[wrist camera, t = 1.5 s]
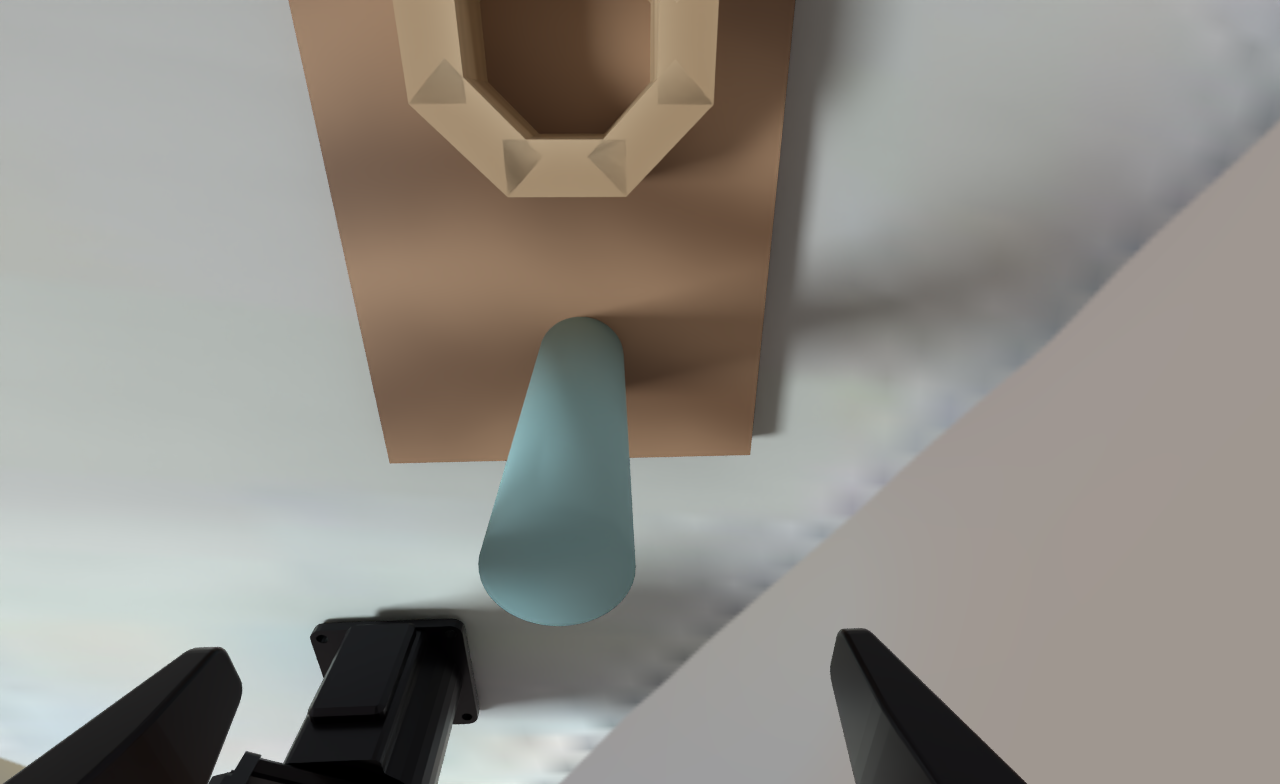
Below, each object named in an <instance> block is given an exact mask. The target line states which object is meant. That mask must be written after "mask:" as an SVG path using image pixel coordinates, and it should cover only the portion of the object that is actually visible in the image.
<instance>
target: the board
mask: <svg viewBox="0 0 1280 784" xmlns="http://www.w3.org/2000/svg"><path fill="white" fill-rule="evenodd" d="M289 5H290V9H291V14H292V19H293V23H294V28H295V32H296V37H297V41H298V46H299V51H300V55H301V60H302V64H303V69H304V73H305V78H306V83H307V87H308V92H309V96H310V101H311V105H312V110H313V115H314V119H315V124H316V128H317V133H318V137H319V142H320V147H321V151H322V156H323V160H324V165H325V169H326V174H327V178H328V183H329V188H330V192H331V197H332V201H333V206H334V210H335V215H336V220H337V224H338V229H339V233H340V238H341V242H342V247H343V252H344V256H345V261H346V265H347V270H348V274H349V279H350V284H351V288H352V293H353V297H354V302H355V306H356V311H357V316H358V320H359V325H360V329H361V334H362V338H363V343H364V348H365V352H366V357H367V361H368V366H369V370H370V375H371V380H372V384H373V389H374V393H375V398H376V402H377V407H378V412H379V416H380V421H381V425H382V430H383V434H384V439H385V444H386V448H387V453H388V457H389V462H390V463H427V462H469V461H507V459H508V455H509V452H510V449H511V445H512V442H513V438H514V435H515V431H516V428H517V424H518V421H519V418H520V414H521V411H522V407H523V404H524V400H525V397H526V394H527V390H528V387H529V383H530V380H531V376H532V373H533V369H534V366H535V363H536V359H537V356H538V352H539V349H540V345H541V342H542V340H543V338H544V336H545V334H546V333H547V332H548V331H549V329H550V328H552V327H553V326H554V325H555V324H557V323H558V322H560V321H562V320H565V319H568V318H572V317H589V318H593V319H596V320H599V321H601V322H603V323H604V324H606V325H607V326H609V327H610V328H611V329H612V330H613V331H614V332H615V333H616V335H617V336H618V338H619V340H620V342H621V344H622V348H623V354H624V370H625V388H626V406H627V424H628V442H629V458H639V457H682V456H724V455H750V450H751V440H752V430H753V420H754V410H755V400H756V390H757V380H758V370H759V360H760V350H761V340H762V330H763V320H764V310H765V300H766V290H767V280H768V270H769V260H770V250H771V240H772V230H773V220H774V210H775V199H776V189H777V179H778V169H779V159H780V149H781V139H782V129H783V119H784V109H785V99H786V89H787V79H788V69H789V59H790V49H791V39H792V29H793V19H794V9H795V0H719V9H718V28H717V48H716V67H715V86H714V105H713V106H712V107H711V108H710V109H709V110H708V111H707V112H706V113H705V114H704V115H703V116H702V117H701V118H700V119H699V120H698V122H697V123H696V124H695V125H694V126H693V127H692V128H691V129H690V130H689V131H688V132H687V133H686V134H685V135H684V136H683V137H682V138H681V139H680V141H679V142H678V143H677V144H676V145H675V146H674V147H673V148H672V149H671V150H670V151H669V152H668V153H667V154H666V155H665V156H664V157H663V159H662V160H661V161H660V162H659V163H658V164H657V165H656V166H655V167H654V168H653V169H652V170H651V171H650V172H649V173H648V174H647V175H646V176H645V178H644V179H643V180H642V181H641V182H640V183H639V184H638V185H637V186H636V187H635V188H634V189H633V190H632V191H631V192H630V193H629V194H628V195H627V197H507V196H506V195H505V194H504V193H503V192H502V191H501V190H500V189H499V188H497V187H496V186H495V185H494V184H493V183H492V182H491V181H490V180H489V179H488V178H487V177H486V176H485V175H484V174H483V173H481V172H480V171H479V170H478V169H477V168H476V167H475V166H474V165H473V164H472V163H471V162H470V161H469V160H468V159H467V158H466V157H464V156H463V155H462V154H461V153H460V152H459V151H458V150H457V149H456V148H455V147H454V146H453V145H452V144H451V143H450V142H449V141H447V140H446V139H445V138H444V137H443V136H442V135H441V134H440V133H439V132H438V131H437V130H436V129H435V128H434V127H433V126H432V125H430V124H429V123H428V122H427V121H426V120H425V119H424V118H423V117H422V116H421V115H420V114H419V113H418V112H417V111H416V110H415V109H413V108H412V107H411V106H410V105H409V104H408V98H407V91H406V85H405V78H404V72H403V65H402V59H401V52H400V46H399V39H398V33H397V26H396V20H395V13H394V7H393V0H289ZM480 8H481V18H482V29H483V39H484V49H485V59H486V69H487V79H488V83H489V84H490V85H491V86H492V87H493V88H494V89H495V90H496V91H497V92H498V93H499V94H500V95H501V96H502V97H503V98H504V99H505V100H506V101H507V102H508V103H509V104H510V105H511V106H512V107H513V108H514V109H515V110H516V111H517V112H518V113H519V114H520V115H521V116H522V117H523V118H524V119H525V120H526V121H527V122H528V123H529V124H530V125H531V126H532V127H533V128H534V129H535V130H536V131H537V132H538V133H539V134H604V133H605V132H606V131H607V130H608V129H609V128H610V127H611V126H612V124H613V123H614V122H615V121H616V120H617V119H618V118H619V117H620V115H621V114H622V113H623V112H624V111H625V110H626V109H627V108H628V107H629V105H630V104H631V103H632V102H633V101H634V100H635V99H636V98H637V96H638V95H639V94H640V93H641V92H642V91H643V90H644V89H645V88H646V86H647V85H648V84H649V83H650V30H651V3H650V2H649V1H648V0H481V1H480Z"/></svg>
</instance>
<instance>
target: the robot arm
mask: <svg viewBox="0 0 1280 784" xmlns="http://www.w3.org/2000/svg"><path fill="white" fill-rule="evenodd" d="M450 630H453V631H450ZM310 640H311V643H312V646H313V648H314V651H315V654H316V657H317V660H318V663H319V666H320V669H321V672H322V675H323V678H324V679H323V681H322V683H321V685H320V687H319V689H318V691H317V693H316V695H315V697H314V699H313V701H312V703H311V705H310V707H309V709H308V714H307V716H306V718H305V720H304V722H303V724H302V726H301V728H300V730H299V732H298V734H297V736H296V738H295V740H294V742H293V744H292V746H291V748H290V751H289V753H288V755H287V757H286V759H285V761H284V763H279V762H275V761H271V760H267V759H263V758H261V755H260V754H256V753H252V752H248V751H246V752H245V754H244V755H243V757H242V759H241V760H240V762H239V764H238V765H237V767H236V769H235V770H231V772H227V773H225V774H220V775H216V776H213V777H212V778H211V780H210V777H211V775H212V772H213V770H214V767H215V764H216V762H217V759H218V757H219V754H220V752H221V749H222V746H223V744H224V741H225V739H226V736H227V734H228V731H229V729H230V726H231V723H232V721H233V718H234V716H235V713H236V711H237V708H238V706H239V703H240V700H241V696H242V682H241V680H240V678H239V676H238V674H237V671H236V669H235V667H234V665H233V663H232V661H231V659H230V657H229V655H228V653H227V652H226V650H225V649H223V648H221V647H200V648H193V649H190V650H188V651H186V652H185V653H183V654H182V655H180V656H179V657H178V658H176V659H175V660H173V661H172V662H171V663H169V664H168V665H167V666H165V667H164V668H162V669H161V670H160V671H158V672H157V673H155V674H154V675H153V676H151V677H150V678H149V679H147V680H146V681H144V682H143V683H142V684H140V685H139V686H137V687H136V688H135V689H133V690H132V691H131V692H129V693H128V694H126V695H125V696H124V697H122V698H121V699H120V700H118V701H117V702H115V703H114V704H113V705H111V706H110V707H108V708H107V709H106V710H104V711H103V712H102V713H100V714H99V715H97V716H96V717H95V718H93V719H92V720H90V721H89V722H88V723H86V724H85V725H84V726H82V727H81V728H79V729H78V730H77V731H75V732H74V733H72V734H71V735H70V736H68V737H67V738H66V739H64V740H63V741H61V742H60V743H59V744H57V745H56V746H54V747H53V748H52V749H50V750H49V751H48V752H46V753H45V754H43V755H42V756H41V757H39V758H38V759H36V760H35V761H34V762H32V763H31V764H30V765H28V766H27V767H25V768H24V769H23V770H22V771H20V772H19V773H17V774H16V775H14V776H13V777H12V778H10V779H9V780H8V781H6V782H5V783H3V784H208V782H209V780H210V782H209V784H438V780H439V776H440V772H441V768H442V764H443V760H444V756H445V752H446V748H447V744H448V740H449V736H450V732H451V728H452V724H470V723H473V722H475V721H476V720H477V718H478V714H479V704H478V699H477V693H476V687H475V682H474V676H473V671H472V665H471V659H470V654H469V648H468V642H467V637H466V631H465V626H464V624H463V623H462V622H461V621H459V620H457V619H433V620H405V621H376V622H348V623H323V624H319V625H317V626H316V627H315V629H314V630H313V632H312V634H311V636H310ZM830 674H831V681H832V686H833V690H834V695H835V699H836V703H837V707H838V712H839V716H840V720H841V724H842V728H843V732H844V737H845V741H846V745H847V750H848V754H849V758H850V762H851V766H852V771H853V775H854V778H855V783H856V784H1027V783H1026V782H1025V781H1024V780H1023V779H1022V778H1021V777H1020V776H1018V774H1017V773H1016V772H1015V771H1013V770H1012V769H1011V768H1010V767H1009V766H1008V765H1007V764H1006V763H1005V762H1004V761H1003V760H1002V759H1001V758H1000V757H999V756H998V755H997V754H996V753H995V752H994V751H993V750H992V749H991V748H990V747H989V746H988V745H987V744H986V743H985V742H984V741H982V740H981V738H980V737H979V736H978V735H977V734H975V733H974V732H973V731H972V730H971V729H970V728H969V727H968V726H967V725H966V724H965V723H964V722H963V721H962V720H961V719H960V718H959V717H958V716H957V715H956V714H955V713H954V712H953V711H952V710H951V709H950V708H949V707H948V706H947V705H945V703H944V702H943V701H942V700H941V699H939V698H938V697H937V696H936V695H935V694H934V693H933V692H932V691H931V690H930V689H929V688H928V687H927V686H926V685H925V684H924V683H923V682H922V681H921V680H920V679H919V678H918V677H917V676H916V675H915V674H914V673H913V672H912V671H911V670H910V669H909V668H908V667H907V666H906V665H904V663H903V662H901V661H900V660H899V659H898V658H897V657H896V656H895V655H894V654H893V653H892V652H891V651H890V650H889V649H888V648H887V647H886V646H885V645H884V644H883V643H882V642H881V641H880V640H879V639H878V638H877V637H876V636H875V635H874V634H873V633H871V632H870V631H868V630H867V629H863V628H856V629H855V628H854V629H841V630H840V631H839V632H838V634H837V637H836V642H835V647H834V652H833V656H832V661H831V666H830Z"/></svg>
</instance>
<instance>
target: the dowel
mask: <svg viewBox="0 0 1280 784" xmlns="http://www.w3.org/2000/svg"><path fill="white" fill-rule="evenodd" d="M478 565H479V574H480V578H481V581H482V584H483V586H484V588H485V590H486V591H487V593H488V594H489V596H490V597H491V598H492V599H493V600H494V601H495V602H496V603H497V604H498V605H499V606H500V607H501V608H503V609H504V610H506V611H507V612H509V613H510V614H512V615H514V616H516V617H518V618H520V619H523V620H526V621H529V622H532V623H536V624H541V625H549V626H568V625H575V624H581V623H585V622H588V621H591V620H594V619H596V618H599V617H601V616H602V615H604V614H606V613H608V612H609V611H611V610H612V609H613V608H615V607H616V606H617V605H618V604H619V603H620V602H621V601H622V600H623V599H624V598H625V596H626V595H627V593H628V592H629V590H630V588H631V586H632V583H633V580H634V576H635V568H636V566H635V548H634V530H633V513H632V495H631V477H630V459H629V442H628V424H627V406H626V388H625V370H624V354H623V348H622V344H621V342H620V340H619V338H618V336H617V335H616V333H615V332H614V331H613V330H612V329H611V328H610V327H609V326H607V325H606V324H604V323H603V322H601V321H599V320H596V319H593V318H589V317H572V318H568V319H565V320H562V321H560V322H558V323H557V324H555V325H554V326H553V327H552V328H550V329H549V331H548V332H547V333H546V334H545V336H544V338H543V340H542V342H541V345H540V349H539V352H538V356H537V359H536V363H535V366H534V369H533V373H532V376H531V380H530V383H529V387H528V390H527V394H526V397H525V400H524V404H523V407H522V411H521V414H520V418H519V421H518V424H517V428H516V431H515V435H514V438H513V442H512V445H511V449H510V452H509V455H508V459H507V462H506V466H505V469H504V473H503V476H502V480H501V483H500V486H499V490H498V493H497V497H496V500H495V504H494V507H493V510H492V514H491V517H490V521H489V524H488V528H487V531H486V535H485V538H484V541H483V545H482V548H481V552H480V555H479V563H478Z"/></svg>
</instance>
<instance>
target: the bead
mask: <svg viewBox="0 0 1280 784" xmlns="http://www.w3.org/2000/svg"><path fill="white" fill-rule="evenodd" d="M480 1H481V0H393V7H394V13H395V20H396V26H397V33H398V39H399V46H400V52H401V59H402V65H403V72H404V78H405V85H406V91H407V98H408V104H409V105H410V106H411V107H412V108H413V109H415V110H416V111H417V112H418V113H419V114H420V115H421V116H422V117H423V118H424V119H425V120H426V121H427V122H428V123H429V124H430V125H432V126H433V127H434V128H435V129H436V130H437V131H438V132H439V133H440V134H441V135H442V136H443V137H444V138H445V139H446V140H447V141H449V142H450V143H451V144H452V145H453V146H454V147H455V148H456V149H457V150H458V151H459V152H460V153H461V154H462V155H463V156H464V157H466V158H467V159H468V160H469V161H470V162H471V163H472V164H473V165H474V166H475V167H476V168H477V169H478V170H479V171H480V172H481V173H483V174H484V175H485V176H486V177H487V178H488V179H489V180H490V181H491V182H492V183H493V184H494V185H495V186H496V187H497V188H499V189H500V190H501V191H502V192H503V193H504V194H505V195H506V196H507V197H627V195H628V194H629V193H630V192H631V191H632V190H633V189H634V188H635V187H636V186H637V185H638V184H639V183H640V182H641V181H642V180H643V179H644V178H645V176H646V175H647V174H648V173H649V172H650V171H651V170H652V169H653V168H654V167H655V166H656V165H657V164H658V163H659V162H660V161H661V160H662V159H663V157H664V156H665V155H666V154H667V153H668V152H669V151H670V150H671V149H672V148H673V147H674V146H675V145H676V144H677V143H678V142H679V141H680V139H681V138H682V137H683V136H684V135H685V134H686V133H687V132H688V131H689V130H690V129H691V128H692V127H693V126H694V125H695V124H696V123H697V122H698V120H699V119H700V118H701V117H702V116H703V115H704V114H705V113H706V112H707V111H708V110H709V109H710V108H711V107H712V106H713V105H714V86H715V67H716V48H717V28H718V9H719V0H648V1H649V2H650V3H651V30H650V83H649V84H648V85H647V86H646V88H645V89H644V90H643V91H642V92H641V93H640V94H639V95H638V96H637V98H636V99H635V100H634V101H633V102H632V103H631V104H630V105H629V107H628V108H627V109H626V110H625V111H624V112H623V113H622V114H621V115H620V117H619V118H618V119H617V120H616V121H615V122H614V123H613V124H612V126H611V127H610V128H609V129H608V130H607V131H606V132H605V133H604V134H539V133H538V132H537V131H536V130H535V129H534V128H533V127H532V126H531V125H530V124H529V123H528V122H527V121H526V120H525V119H524V118H523V117H522V116H521V115H520V114H519V113H518V112H517V111H516V110H515V109H514V108H513V107H512V106H511V105H510V104H509V103H508V102H507V101H506V100H505V99H504V98H503V97H502V96H501V95H500V94H499V93H498V92H497V91H496V90H495V89H494V88H493V87H492V86H491V85H490V84H489V83H488V79H487V69H486V59H485V49H484V39H483V29H482V18H481V8H480Z"/></svg>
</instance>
